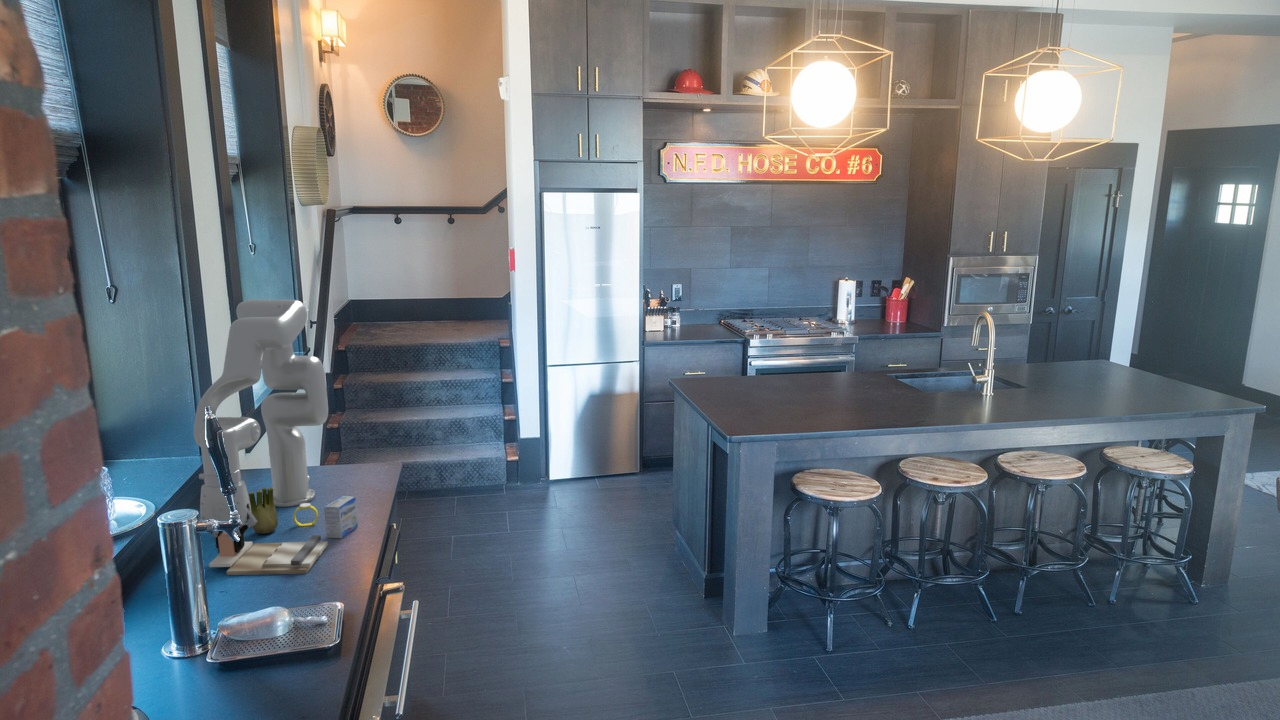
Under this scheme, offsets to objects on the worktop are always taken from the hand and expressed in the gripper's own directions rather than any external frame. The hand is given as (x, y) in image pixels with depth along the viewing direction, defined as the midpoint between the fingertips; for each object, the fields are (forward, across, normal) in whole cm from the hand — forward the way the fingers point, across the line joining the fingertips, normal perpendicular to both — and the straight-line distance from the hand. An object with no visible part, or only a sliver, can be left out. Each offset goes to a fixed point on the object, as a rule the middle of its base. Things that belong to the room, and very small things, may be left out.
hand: (230, 549), depth 188 cm
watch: (+3, +10, +20) cm, 23 cm away
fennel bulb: (+3, +1, +16) cm, 17 cm away
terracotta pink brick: (+1, 0, 0) cm, 1 cm away
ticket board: (+3, +11, 0) cm, 12 cm away
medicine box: (+3, +21, +15) cm, 26 cm away
